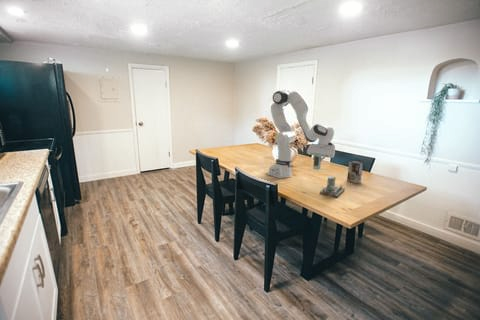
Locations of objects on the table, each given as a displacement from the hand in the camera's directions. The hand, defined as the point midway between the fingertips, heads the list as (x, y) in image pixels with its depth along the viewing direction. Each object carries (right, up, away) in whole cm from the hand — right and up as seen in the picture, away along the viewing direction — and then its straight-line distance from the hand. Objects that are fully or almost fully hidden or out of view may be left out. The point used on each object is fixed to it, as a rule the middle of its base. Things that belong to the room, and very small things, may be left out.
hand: (317, 160), depth 183 cm
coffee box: (+36, -18, +20) cm, 45 cm away
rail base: (+9, -23, -4) cm, 25 cm away
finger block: (0, -7, +2) cm, 7 cm away
